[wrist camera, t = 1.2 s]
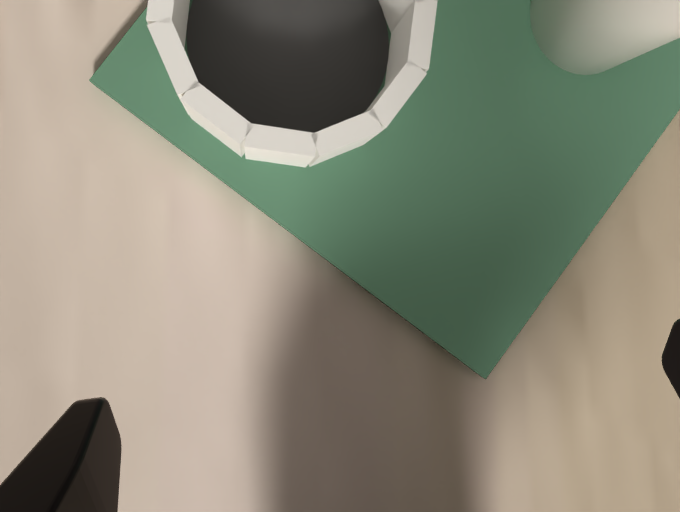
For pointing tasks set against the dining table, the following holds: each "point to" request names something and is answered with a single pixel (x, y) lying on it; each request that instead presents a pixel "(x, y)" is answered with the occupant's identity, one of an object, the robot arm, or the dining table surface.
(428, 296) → the putting green
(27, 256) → the dining table surface
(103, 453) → the robot arm
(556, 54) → the golf ball tube
